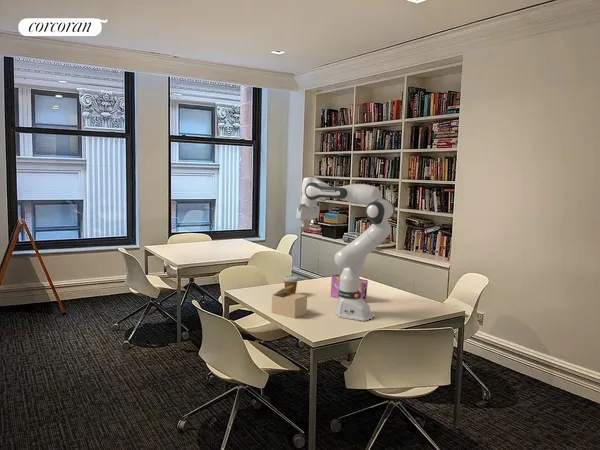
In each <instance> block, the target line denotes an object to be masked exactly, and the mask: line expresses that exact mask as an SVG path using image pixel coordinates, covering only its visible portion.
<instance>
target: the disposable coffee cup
mask: <svg viewBox="0 0 600 450" xmlns="http://www.w3.org/2000/svg"><path fill="white" fill-rule="evenodd" d="M298 281H299V277H298V276H294V275H286V276H284V277H283V282H284V283H283V284H284V288H286V287H289V286H292V285H293V287H291V288H289V289H288V290H286V291H284V292H289V293H293V294H295V293H296V292H297V287H298V286H297V285H298ZM296 294H297V293H296Z"/></svg>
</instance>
